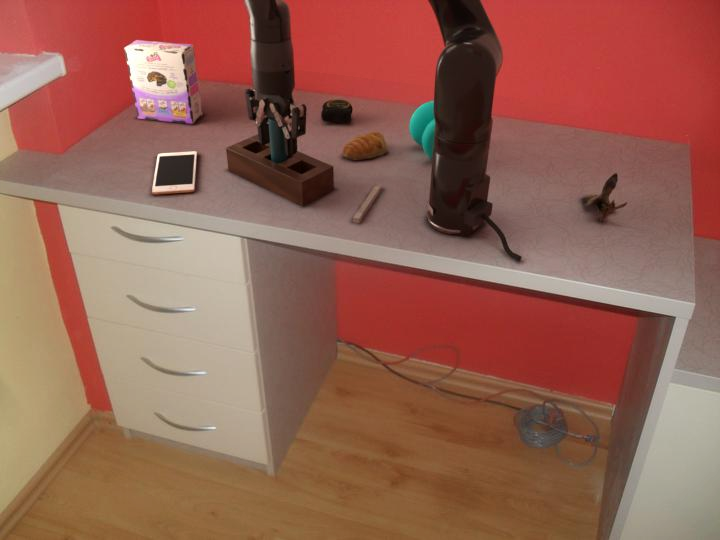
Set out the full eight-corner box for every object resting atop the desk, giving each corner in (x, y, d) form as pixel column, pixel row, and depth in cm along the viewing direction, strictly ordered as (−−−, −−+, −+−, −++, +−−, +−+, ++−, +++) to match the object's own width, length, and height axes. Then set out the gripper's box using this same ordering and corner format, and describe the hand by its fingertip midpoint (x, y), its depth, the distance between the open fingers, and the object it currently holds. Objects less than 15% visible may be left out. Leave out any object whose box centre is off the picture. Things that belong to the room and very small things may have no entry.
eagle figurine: (635, 218, 125) (624, 185, 131) (621, 191, 120) (611, 159, 127) (592, 234, 128) (584, 201, 134) (578, 208, 124) (571, 176, 130)
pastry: (355, 166, 142) (355, 148, 140) (335, 154, 146) (334, 137, 144) (390, 153, 147) (390, 136, 145) (369, 142, 151) (370, 125, 149)
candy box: (203, 114, 162) (194, 43, 152) (193, 125, 157) (183, 52, 147) (148, 108, 164) (136, 38, 154) (136, 119, 159) (122, 46, 150)
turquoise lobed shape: (449, 139, 152) (453, 95, 146) (468, 160, 145) (473, 114, 139) (406, 145, 150) (408, 101, 144) (423, 166, 142) (426, 120, 136)
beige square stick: (375, 189, 135) (375, 185, 134) (381, 190, 134) (381, 186, 134) (353, 222, 125) (353, 217, 124) (359, 223, 125) (359, 218, 124)
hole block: (259, 156, 145) (257, 133, 142) (333, 189, 134) (333, 166, 131) (228, 170, 140) (225, 147, 137) (303, 206, 129) (301, 182, 126)
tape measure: (320, 125, 158) (320, 109, 155) (324, 113, 163) (324, 97, 161) (350, 126, 157) (350, 111, 155) (354, 114, 163) (354, 99, 160)
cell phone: (152, 194, 132) (151, 192, 131) (158, 156, 144) (157, 153, 144) (194, 192, 133) (194, 189, 132) (197, 153, 145) (196, 151, 145)
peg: (291, 179, 137) (287, 117, 130) (280, 185, 135) (276, 122, 128) (280, 174, 139) (276, 112, 131) (269, 180, 137) (264, 117, 129)
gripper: (229, 58, 125) (237, 144, 135) (285, 78, 117) (290, 168, 127) (260, 48, 130) (266, 131, 139) (317, 66, 122) (319, 154, 132)
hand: (278, 148), depth 133 cm, fingers open, 6 cm apart
